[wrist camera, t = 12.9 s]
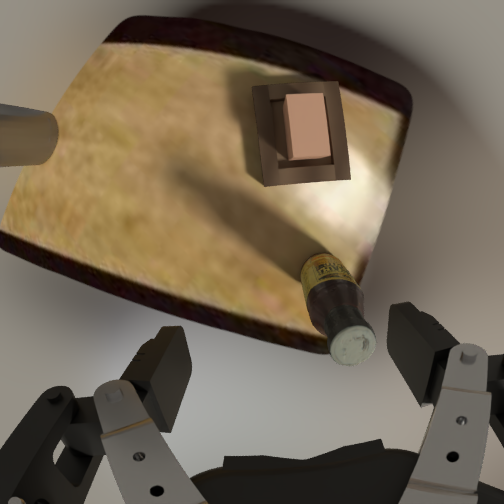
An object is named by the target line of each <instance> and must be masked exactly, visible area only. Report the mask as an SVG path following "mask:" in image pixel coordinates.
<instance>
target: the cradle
mask: <svg viewBox="0 0 504 504" xmlns="http://www.w3.org/2000/svg"><path fill="white" fill-rule="evenodd" d="M252 92H253V99H254V107H255V115H256V123H257V131H258V139H259V147H260V155H261V164H262V172H263V181H264V187H267V186H277V185H287V184H298V183H310V182H322V181H336V180H351V175H350V165H349V155H348V146H347V138H346V130H345V123H344V116H343V109H342V102H341V96H340V90H339V84H338V82H301V83H285V84H273V85H262V86H253V87H252ZM307 93H323V96H324V104H325V111H326V119H327V127H328V135H329V144H330V154H331V155H330V156H327V157H323V158H319V159H304V160H290V161H288V153H287V144H286V135H285V126H284V117H283V109H282V108H283V104H284V100H285V97H286V95H287V94H307Z"/></svg>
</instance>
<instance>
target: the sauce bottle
mask: <svg viewBox="0 0 504 504" xmlns="http://www.w3.org/2000/svg"><path fill="white" fill-rule="evenodd" d="M301 283H302V287H303V292H304V297H305V301H306V306H307V310H308V312H309V316H310V319H311V322H312V325H313V326H314V327H315V328H316V329H317V330H318V331H319V332H320V333H321V334H323V335H325V336H327V337H328V340H327V345H328V349H329V352H330V355H331V357H332V358H333V360H334V361H335V362H337V363H338V364H341V365H346V366H354V365H358V364H359V363H361V362H364V361H365V360H367V359H368V358H369V357H370V355H371V354H372V353H373V352H374V349H375V347H376V337H375V334H374V331H373V329H372V327H371V326H370V325H369V323H367V322H366V321H365V319H364V295H363V292H362V290H361V289H360V287H359V286H358V284H357V283H356V281H355V280H354V278H353V277H352V276H351V274H350V273H349V271H348V270H347V269H346V267H345V266H344V265H343V263H342V262H341V261H340V260H339V259H338V258H336V257H335V256H333V255H331V254H326V253H320V254H315V255H313V256H312V257H310V258H309V259H308V260H307V261H306V262H305V263H304V265H303V267H302V271H301Z"/></svg>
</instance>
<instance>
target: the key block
mask: <svg viewBox="0 0 504 504" xmlns="http://www.w3.org/2000/svg"><path fill="white" fill-rule="evenodd" d="M282 109H283V117H284V126H285V135H286V144H287V153H288V161H290V160H304V159H319V158H323V157H327V156H330V155H331V154H330V144H329V135H328V127H327V119H326V111H325V104H324V96H323V93H307V94H287V95H286V97H285V100H284V104H283V108H282Z"/></svg>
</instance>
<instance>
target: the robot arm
mask: <svg viewBox="0 0 504 504" xmlns="http://www.w3.org/2000/svg"><path fill="white" fill-rule="evenodd" d="M57 139H58V125H57V122H56V119H55V117H54V116H53V115H52V114H51V113H48V112H44V111H39V110H34V109H29V108H24V107H18V106H12V105H5V104H0V167H9V166H28V165H40V164H43V163H44V162H45V161H47V160H48V159H49V158H50V156H51V155H52V153H53V151H54V149H55V147H56V143H57ZM387 349H388V352H389V355H390V356H391V358H392V359H393V361H394V363H395V365H396V366H397V368H398V369H399V371H400V373H401V374H402V376H403V378H404V379H405V381H406V383H407V385H408V386H409V388H410V390H411V391H412V393H413V395H414V396H415V398H416V400H417V402H418V404H419V405H420V407H424V406H428V405H430V404H433V406H434V409H433V412H432V415H431V418H430V422H429V425H428V427H427V430H426V433H425V436H424V438H423V441H422V444H421V446H420V449H419V451H418V453H415V452H411V451H407V450H401V449H385V448H384V446H383V443H382V440H381V439H377V440H373V441H368V442H364V443H359V444H354V445H349V446H344V447H341V448H338V449H336V450H333V451H330V452H327V453H325V454H322V455H319V456H316V457H313V458H310V459H306V460H298V459H289V458H280V457H272V456H264V455H260V456H224V462H223V467H219V468H214V469H211V470H207V471H205V472H202V473H199V474H197V475H195V476H193V477H191V478H189V477H188V476H187V474H186V473H185V471H184V470H183V468H182V467H181V465H180V464H179V462H178V461H177V459H176V458H175V456H174V454H173V453H172V451H171V450H170V448H169V447H168V445H167V443H166V442H165V440H164V438H163V437H162V435H161V433H160V432H165V433H171V431H172V428H173V425H174V422H175V419H176V416H177V414H178V411H179V408H180V405H181V402H182V399H183V396H184V393H185V390H186V388H187V385H188V382H189V379H190V376H191V372H192V362H191V357H190V353H189V349H188V345H187V341H186V337H185V333H184V330H183V328H182V327H181V326H163V327H162V328H161V329H160V331H159V332H158V334H157V335H156V337H155V339H150V340H149V341H147V342H146V343H145V344H143V345H142V346H141V347H140V349H139V350H138V352H137V355H135V356H134V358H133V359H132V361H131V362H130V364H129V365H128V367H127V368H126V370H125V371H124V373H123V374H122V376H121V377H120V379H119V380H112V381H109V382H106V383H104V384H102V385H101V386H99V387H98V388H97V389H96V391H95V393H94V396H92V397H82V398H75V396H74V394H73V392H72V390H71V389H70V388H69V387H66V386H56V387H52V388H50V389H48V390H46V391H45V392H44V393H42V395H41V396H40V397H39V398H38V399H37V401H36V402H35V403H34V405H33V406H32V407H31V409H30V410H29V411H28V412H27V414H26V415H25V416H24V418H23V419H22V420H21V422H20V423H19V424H18V426H17V427H16V428H15V430H14V431H13V433H12V434H11V435H10V437H9V438H8V440H7V441H6V442H5V444H4V445H3V446H2V448H1V449H0V504H84V501H85V499H86V496H87V494H88V491H89V489H90V487H91V484H92V481H93V479H94V477H95V474H96V472H97V470H98V467H99V465H100V463H101V460H102V458H103V456H104V455H107V458H108V461H109V464H110V467H111V469H112V472H113V475H114V477H115V480H116V482H117V485H118V487H119V490H120V492H121V494H122V497H123V499H124V501H125V504H504V491H503V490H500V489H498V488H495V487H493V486H490V485H487V484H485V483H482V482H480V481H479V477H480V473H481V468H482V463H483V458H484V453H485V447H486V441H487V435H488V427H489V424H490V426H491V427H492V429H493V431H494V432H495V434H496V435H497V437H498V439H499V441H500V442H501V444H502V446H503V447H504V354H502V355H491V356H488V355H487V353H486V351H485V350H484V349H482V348H481V347H479V346H477V345H474V344H467V343H466V344H460V343H459V342H458V341H457V340H456V339H455V338H454V337H453V336H452V335H451V334H450V333H449V332H448V331H447V330H446V329H444V327H443V326H442V325H441V324H439V322H438V321H437V320H436V319H435V318H434V317H433V316H431V315H429V314H427V313H425V312H422V311H421V312H420V311H419V310H418V309H417V308H416V307H415V306H414V305H413V304H412V303H411V302H404V303H398V304H392V305H391V306H390V310H389V321H388V333H387ZM60 439H61V440H62V442H63V443H64V445H65V448H64V449H63V451H62V453H61V455H60V457H59V458H58V460H57V462H56V464H54V462H53V452H54V450H55V448H56V446H57V444H58V443H59V441H60Z"/></svg>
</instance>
